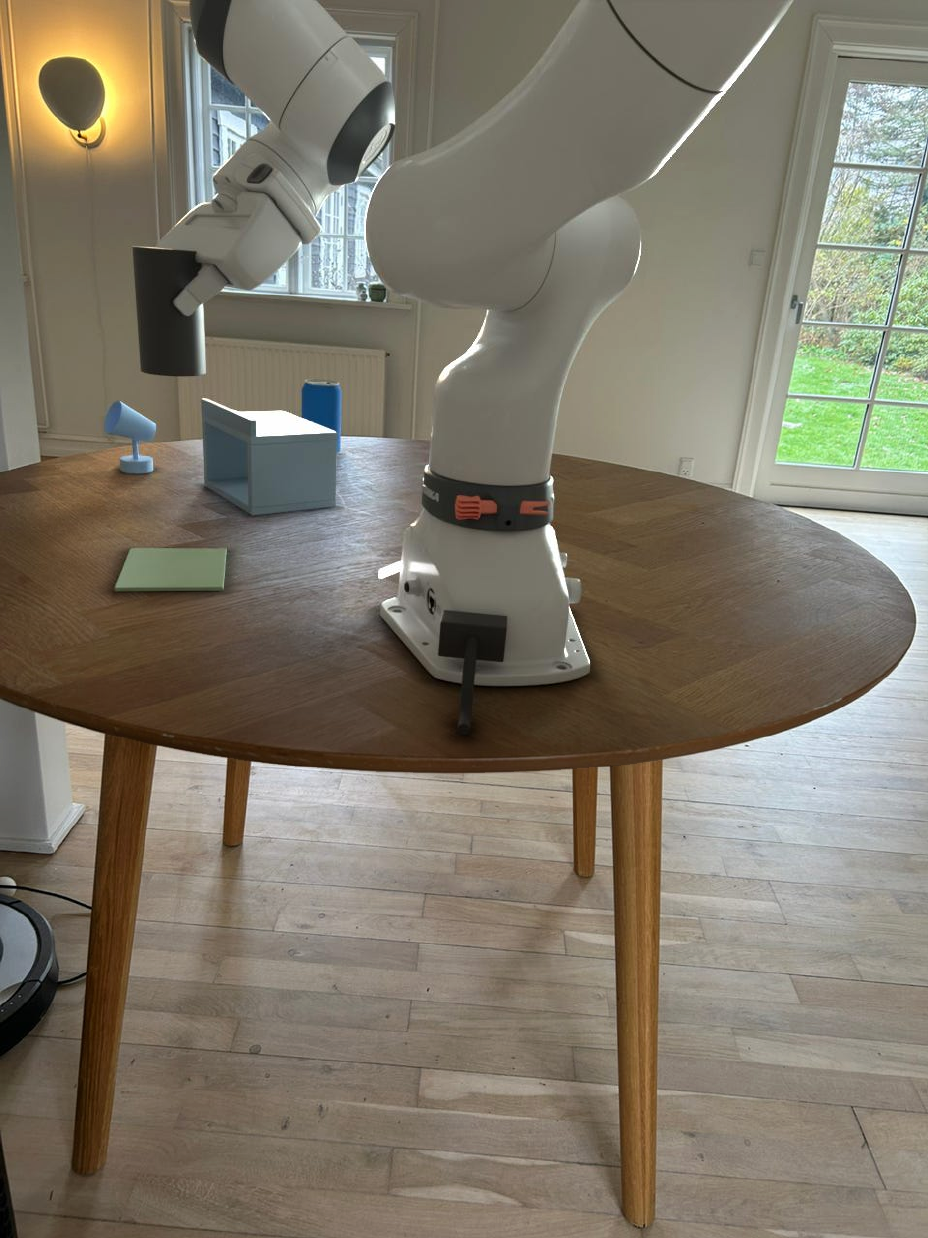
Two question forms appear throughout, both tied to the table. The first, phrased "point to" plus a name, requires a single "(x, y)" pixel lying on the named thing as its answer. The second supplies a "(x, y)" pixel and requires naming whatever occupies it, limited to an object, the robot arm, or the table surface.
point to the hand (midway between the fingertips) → (164, 306)
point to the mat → (173, 569)
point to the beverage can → (323, 404)
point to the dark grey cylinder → (167, 313)
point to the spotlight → (130, 435)
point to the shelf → (268, 460)
